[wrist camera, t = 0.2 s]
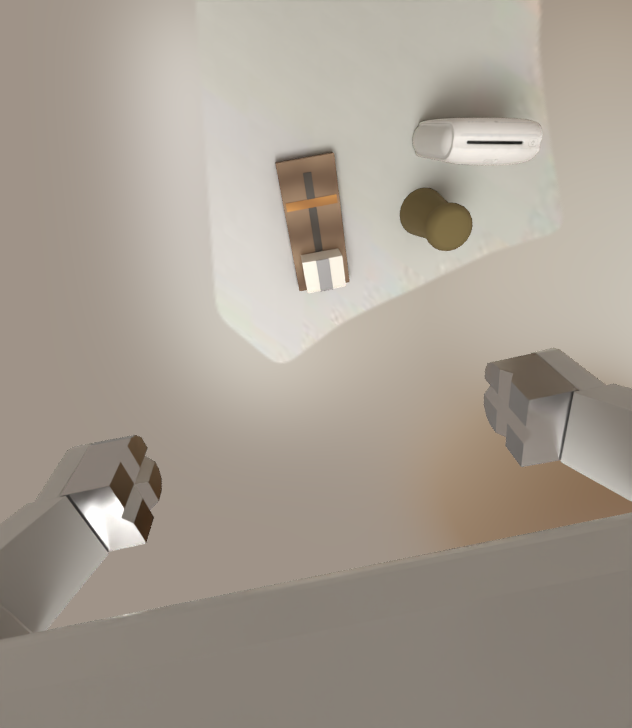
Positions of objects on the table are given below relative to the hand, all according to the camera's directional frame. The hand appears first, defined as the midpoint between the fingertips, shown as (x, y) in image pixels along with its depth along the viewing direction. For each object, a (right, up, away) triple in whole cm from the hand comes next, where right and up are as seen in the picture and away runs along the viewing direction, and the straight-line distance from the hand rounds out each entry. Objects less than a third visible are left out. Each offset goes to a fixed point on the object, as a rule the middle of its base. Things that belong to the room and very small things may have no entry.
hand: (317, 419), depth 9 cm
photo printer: (+17, +29, +40) cm, 52 cm away
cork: (+14, +22, +44) cm, 51 cm away
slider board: (0, +20, +44) cm, 48 cm away
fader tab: (+1, +14, +44) cm, 47 cm away
